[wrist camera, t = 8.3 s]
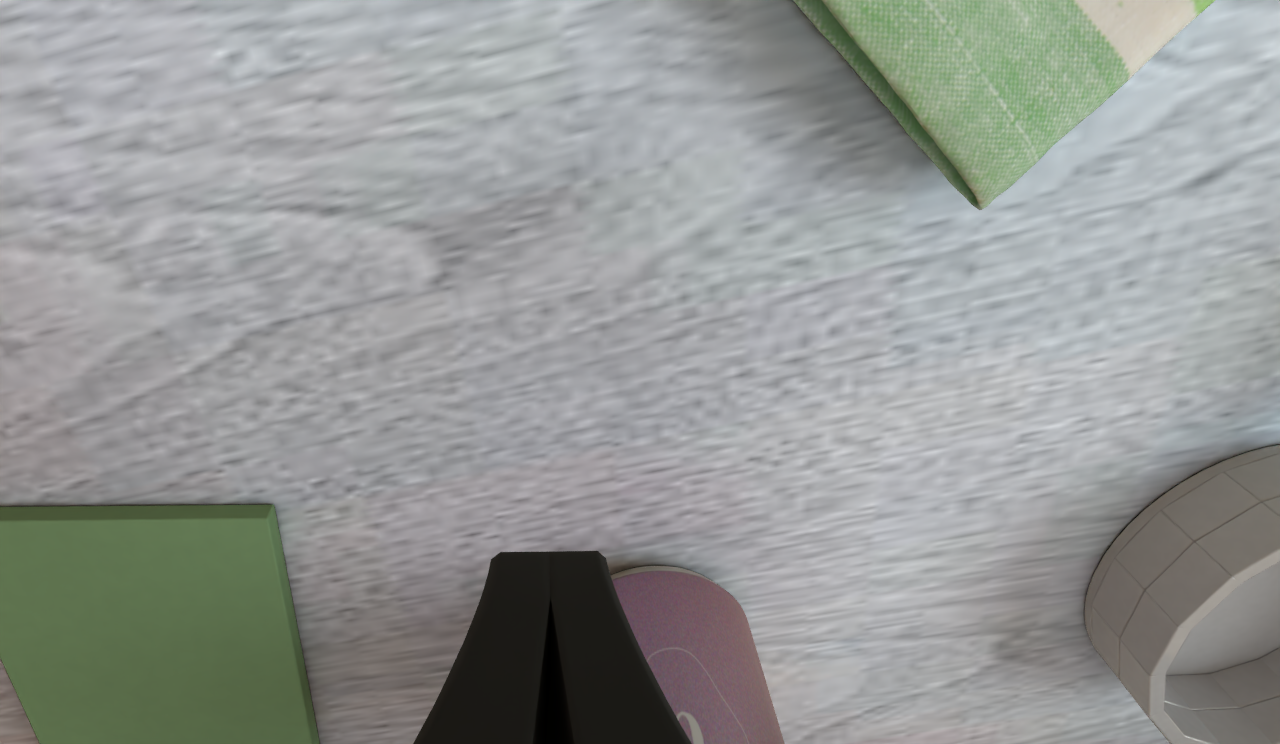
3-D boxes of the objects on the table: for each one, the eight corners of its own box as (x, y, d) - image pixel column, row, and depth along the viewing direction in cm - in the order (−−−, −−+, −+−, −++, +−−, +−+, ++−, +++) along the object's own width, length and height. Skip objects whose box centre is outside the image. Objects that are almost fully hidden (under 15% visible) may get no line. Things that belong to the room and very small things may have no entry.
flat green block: (66, 764, 24) (56, 782, 23) (-48, 506, 19) (-64, 522, 19) (321, 751, 25) (317, 769, 24) (274, 503, 20) (267, 518, 20)
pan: (1042, 679, 27) (1099, 764, 24) (1155, 441, 22) (1243, 512, 19) (1295, 669, 28) (1377, 748, 26) (1454, 441, 24) (1576, 509, 21)
